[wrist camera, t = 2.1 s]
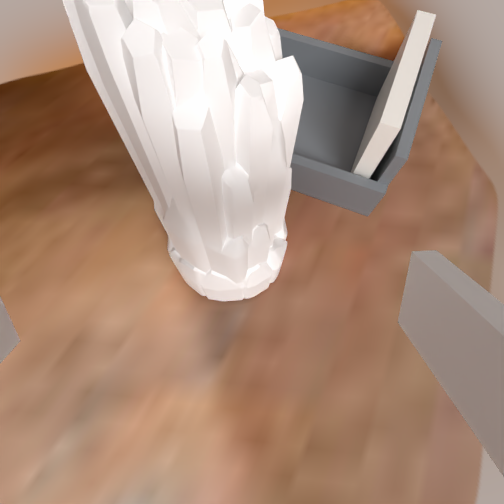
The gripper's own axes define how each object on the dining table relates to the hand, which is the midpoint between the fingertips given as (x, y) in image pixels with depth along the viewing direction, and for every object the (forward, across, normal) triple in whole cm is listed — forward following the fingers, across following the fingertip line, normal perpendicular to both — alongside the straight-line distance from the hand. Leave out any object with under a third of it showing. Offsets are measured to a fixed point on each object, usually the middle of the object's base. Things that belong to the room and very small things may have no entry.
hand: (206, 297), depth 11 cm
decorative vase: (+21, 0, -8) cm, 23 cm away
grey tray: (+32, +7, +2) cm, 33 cm away
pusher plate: (+28, +16, 0) cm, 32 cm away
